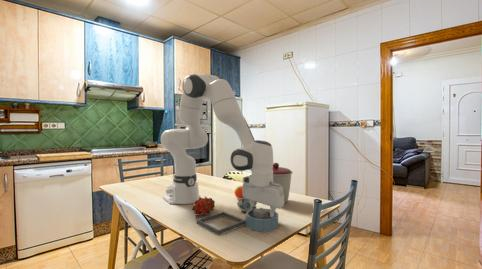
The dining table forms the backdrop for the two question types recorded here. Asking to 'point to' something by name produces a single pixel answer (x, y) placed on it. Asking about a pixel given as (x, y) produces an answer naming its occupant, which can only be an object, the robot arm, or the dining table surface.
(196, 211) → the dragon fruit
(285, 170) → the canister
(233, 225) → the tray
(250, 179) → the robot arm
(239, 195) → the clementine
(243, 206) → the mineral specimen
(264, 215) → the pebble block
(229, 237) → the dining table surface
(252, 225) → the bowl
